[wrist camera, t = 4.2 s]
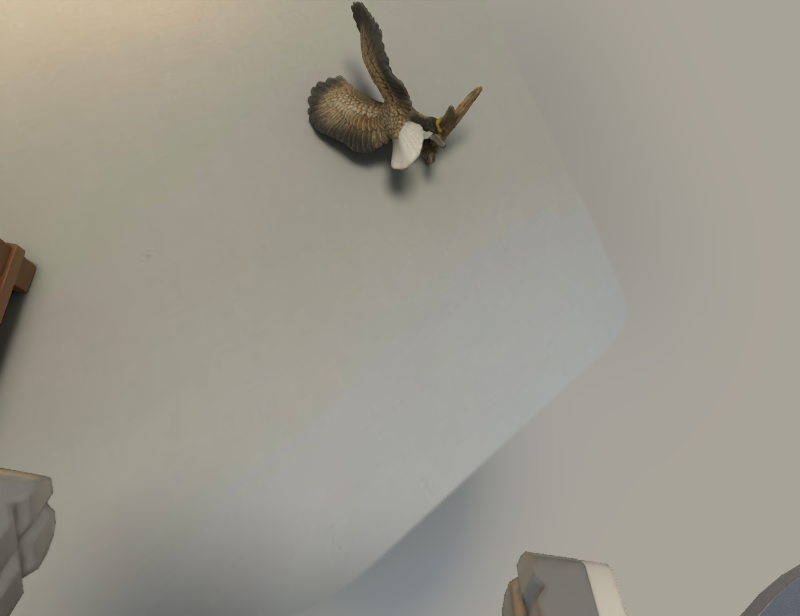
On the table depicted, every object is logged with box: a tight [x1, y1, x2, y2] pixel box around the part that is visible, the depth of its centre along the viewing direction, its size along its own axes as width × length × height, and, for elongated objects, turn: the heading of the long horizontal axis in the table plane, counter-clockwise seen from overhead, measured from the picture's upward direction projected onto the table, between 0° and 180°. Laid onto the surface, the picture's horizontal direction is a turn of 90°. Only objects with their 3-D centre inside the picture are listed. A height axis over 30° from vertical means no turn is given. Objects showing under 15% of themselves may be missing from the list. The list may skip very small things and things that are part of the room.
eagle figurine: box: [308, 2, 482, 170], centre depth 38 cm, size 8×7×9 cm
